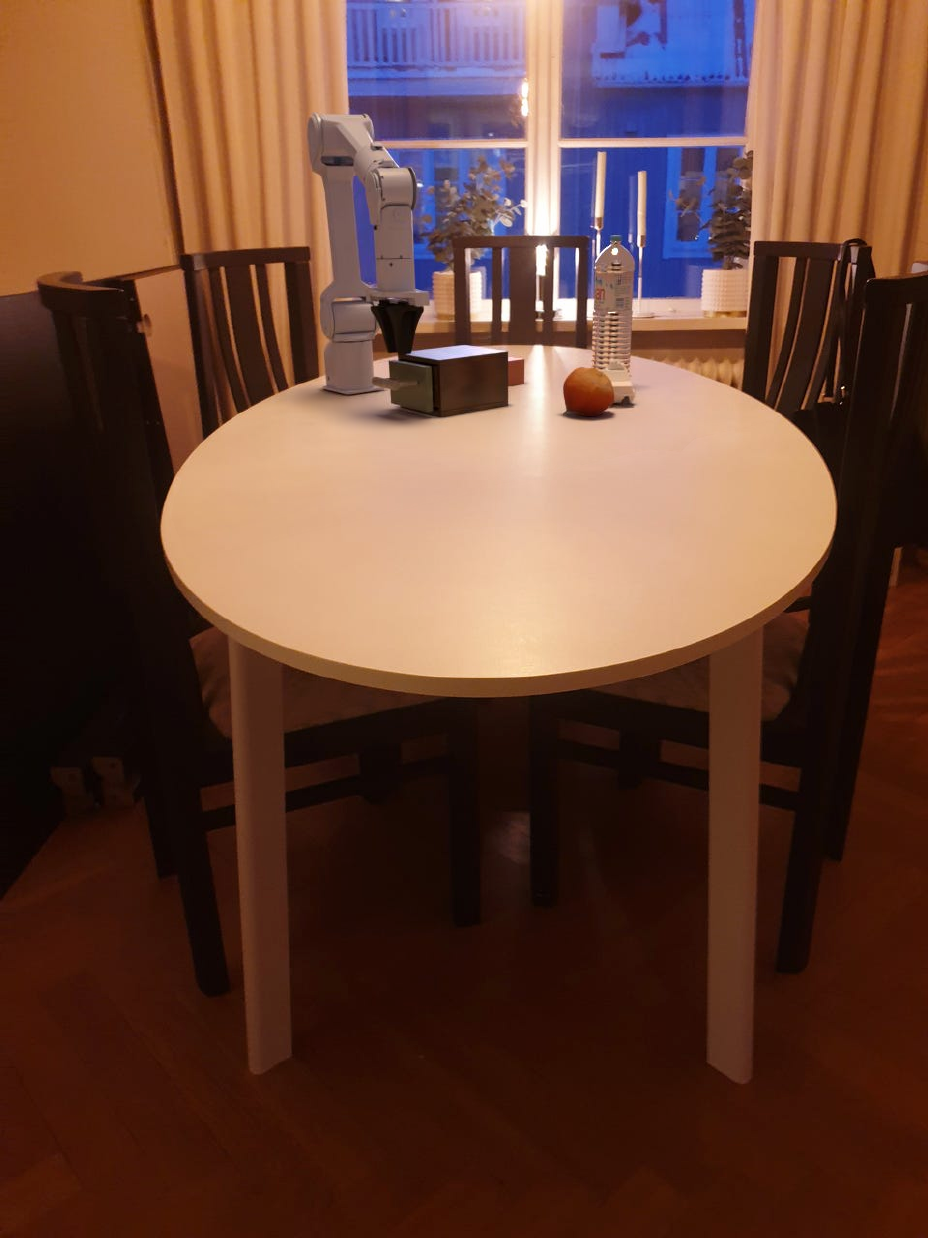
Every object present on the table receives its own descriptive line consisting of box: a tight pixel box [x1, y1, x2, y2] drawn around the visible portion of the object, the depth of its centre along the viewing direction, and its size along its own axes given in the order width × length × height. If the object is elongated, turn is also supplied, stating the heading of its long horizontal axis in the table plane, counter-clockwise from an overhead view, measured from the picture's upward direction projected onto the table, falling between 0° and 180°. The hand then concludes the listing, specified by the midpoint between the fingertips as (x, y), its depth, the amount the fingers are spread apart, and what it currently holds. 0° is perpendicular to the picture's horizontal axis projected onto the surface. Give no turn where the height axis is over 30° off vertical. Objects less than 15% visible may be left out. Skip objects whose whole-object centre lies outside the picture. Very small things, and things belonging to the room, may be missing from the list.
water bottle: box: [590, 234, 636, 375], centre depth 156 cm, size 7×7×25 cm
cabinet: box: [397, 344, 509, 418], centre depth 146 cm, size 14×12×9 cm
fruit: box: [562, 366, 614, 418], centre depth 138 cm, size 8×8×8 cm
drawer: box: [372, 359, 438, 413], centre depth 144 cm, size 17×10×7 cm, turn 127°
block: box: [508, 356, 525, 387], centre depth 166 cm, size 4×4×4 cm
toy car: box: [604, 359, 636, 404], centre depth 148 cm, size 6×12×7 cm, turn 175°
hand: (399, 353), depth 139 cm, fingers closed
